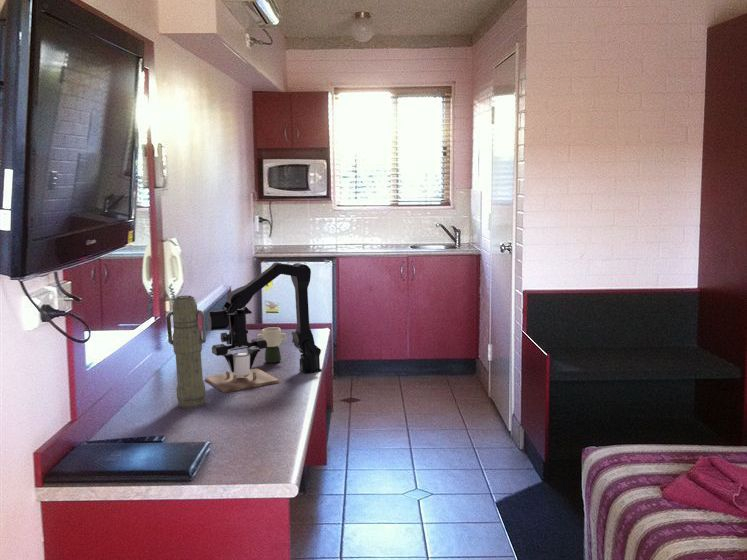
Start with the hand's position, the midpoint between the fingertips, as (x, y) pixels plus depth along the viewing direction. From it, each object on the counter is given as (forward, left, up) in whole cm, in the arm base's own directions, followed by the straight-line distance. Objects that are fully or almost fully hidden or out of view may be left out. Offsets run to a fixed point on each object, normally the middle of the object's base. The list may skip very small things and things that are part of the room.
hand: (241, 370), depth 277 cm
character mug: (-20, -19, -4) cm, 28 cm away
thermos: (+23, +16, -4) cm, 28 cm away
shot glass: (0, 0, -1) cm, 1 cm away
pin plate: (0, 0, -4) cm, 4 cm away
